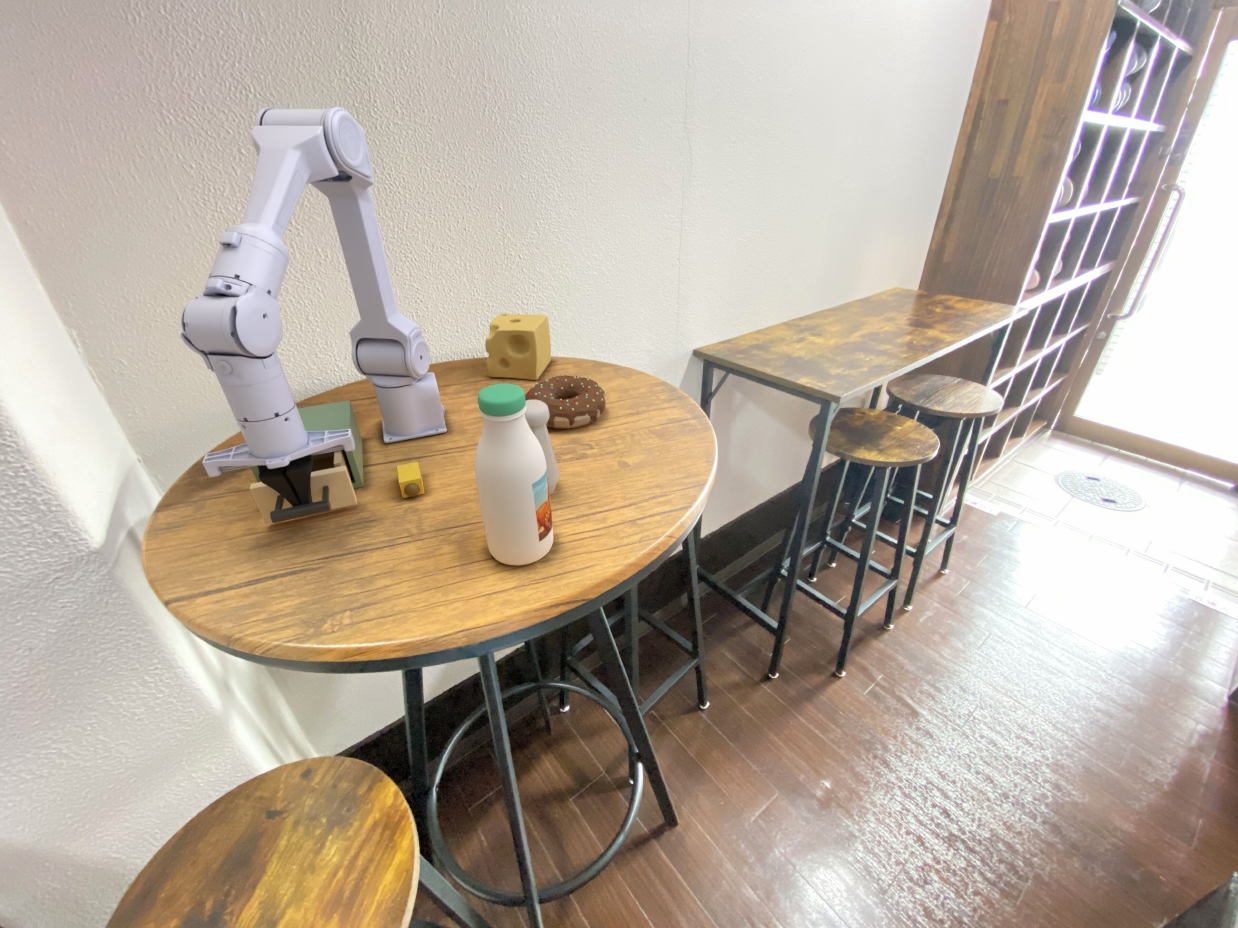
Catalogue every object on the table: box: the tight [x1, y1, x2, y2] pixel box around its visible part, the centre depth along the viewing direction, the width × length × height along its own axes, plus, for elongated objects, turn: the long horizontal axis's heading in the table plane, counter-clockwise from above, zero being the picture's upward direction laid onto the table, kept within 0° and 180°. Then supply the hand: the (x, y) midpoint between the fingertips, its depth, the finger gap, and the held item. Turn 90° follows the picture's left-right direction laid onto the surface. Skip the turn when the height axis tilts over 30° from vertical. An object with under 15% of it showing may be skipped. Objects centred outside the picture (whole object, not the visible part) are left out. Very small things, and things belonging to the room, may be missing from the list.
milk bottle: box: [474, 382, 554, 566], centre depth 58 cm, size 8×8×20 cm
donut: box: [525, 374, 607, 430], centre depth 90 cm, size 14×14×5 cm
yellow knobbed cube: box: [396, 461, 426, 499], centre depth 73 cm, size 3×6×3 cm, turn 23°
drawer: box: [249, 450, 358, 525], centre depth 69 cm, size 17×10×5 cm, turn 23°
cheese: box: [484, 312, 552, 381], centre depth 105 cm, size 10×11×10 cm
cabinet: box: [250, 399, 364, 489], centre depth 75 cm, size 14×12×7 cm
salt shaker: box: [524, 400, 561, 496], centre depth 69 cm, size 6×6×13 cm
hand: (306, 510), depth 64 cm, fingers closed, pressing on drawer
